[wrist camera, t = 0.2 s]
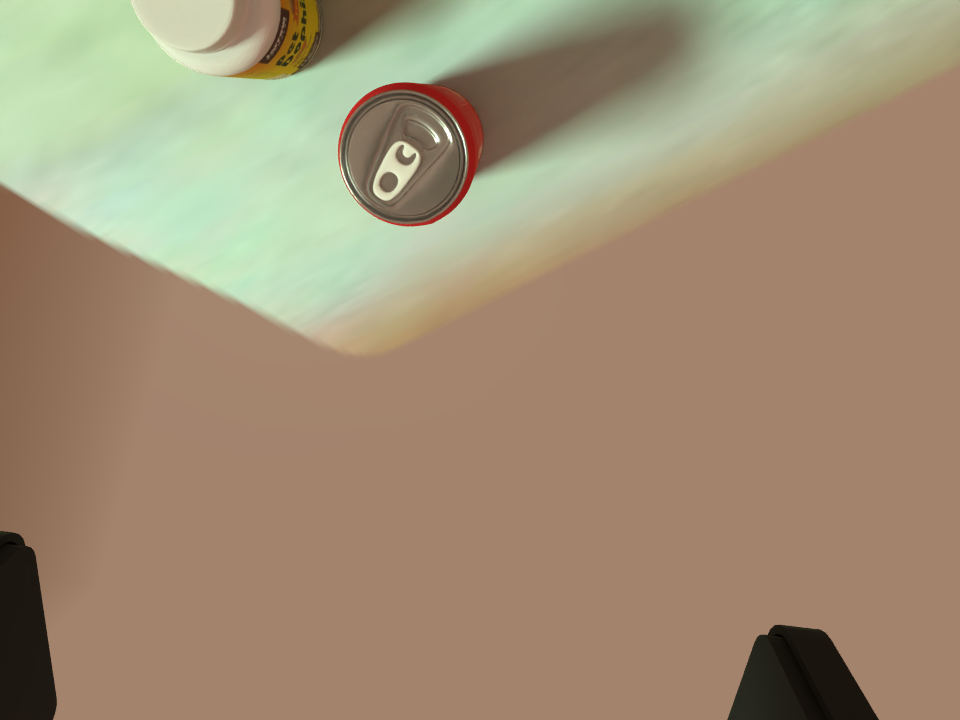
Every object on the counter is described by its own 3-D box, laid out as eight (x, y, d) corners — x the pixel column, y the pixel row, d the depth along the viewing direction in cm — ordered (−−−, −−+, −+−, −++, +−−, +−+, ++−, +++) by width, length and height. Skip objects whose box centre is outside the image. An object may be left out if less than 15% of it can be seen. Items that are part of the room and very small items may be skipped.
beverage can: (503, 125, 35) (503, 141, 24) (448, 207, 37) (423, 257, 26) (420, 63, 34) (380, 50, 23) (367, 150, 36) (306, 177, 25)
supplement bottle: (320, 89, 35) (252, 89, 26) (213, 68, 35) (104, 60, 25) (331, -32, 33) (262, -82, 24) (217, -56, 33) (100, -115, 23)
